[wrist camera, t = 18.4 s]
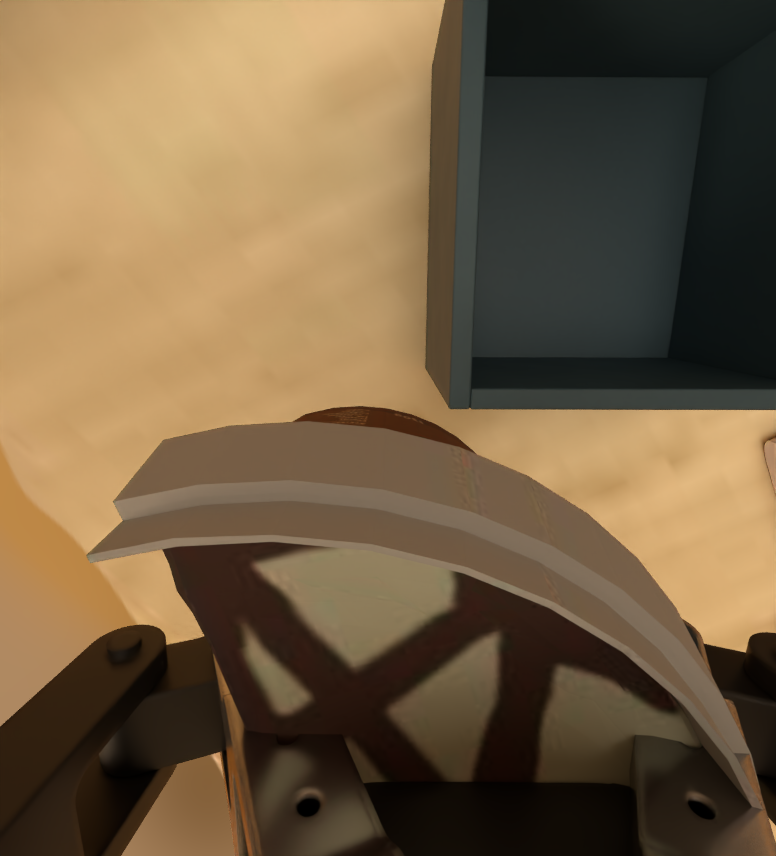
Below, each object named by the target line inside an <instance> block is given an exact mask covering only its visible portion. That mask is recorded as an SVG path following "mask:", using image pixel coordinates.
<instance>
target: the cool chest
mask: <svg viewBox="0 0 776 856" xmlns="http://www.w3.org/2000/svg"><path fill="white" fill-rule="evenodd" d="M425 368H426V370H427V371H428V373H429V375H430V377H431V378H432V380H433V382H434V383H435V385H436V387H437V388H438V390H439V392H440V393H441V395H442V397H443V398H444V400H445V402H446V404H447V405H448V407H449V408H450V409H469V408H471V409H593V410H776V0H445V4H444V9H443V14H442V19H441V24H440V29H439V34H438V39H437V44H436V49H435V54H434V60H433V64H432V92H431V137H430V183H429V228H428V274H427V319H426V365H425Z"/></svg>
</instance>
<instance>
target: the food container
mask: <svg viewBox="0 0 776 856" xmlns="http://www.w3.org/2000/svg"><path fill="white" fill-rule="evenodd" d="M113 503H114V505H115V507H116V508H117V510H118V512H119V514H120V516H121V518H122V520H123V521H122V522H121V523H120V524H119V525H118V526H117V527H116V528H115V529H114V530H113V531H112V532H111V533H109V534H108V535H107V536H106V537H105V538H104V539H103V540H102V541H101V542H100V543H99V544H98V545H97V546H96V547H95V548H94V549H92V550H91V551H90V552H89V553H88V554H87V555H86V556H87V558H88V560H89V562H90V563H93V562H98V561H104V560H109V559H114V558H119V557H125V556H130V555H135V554H140V553H146V552H151V551H156V550H161V549H162V550H163V552H164V554H165V556H166V558H167V560H168V563H169V565H170V568H171V571H172V575H173V578H174V582H175V585H176V589H177V591H178V593H179V594H180V596H181V597H182V599H183V600H184V601H185V603H186V604H187V606H188V607H189V608H190V610H191V611H192V613H193V614H194V616H195V618H196V620H197V622H198V624H199V626H200V628H201V630H202V632H203V634H204V636H205V637H206V639H207V641H208V643H209V645H210V647H211V649H212V652H213V654H214V656H215V659H216V661H217V663H218V666H219V668H220V670H221V673H222V675H223V677H224V680H225V682H226V684H227V687H228V689H229V691H230V694H231V696H232V698H233V701H234V703H235V705H236V708H237V710H238V712H239V715H240V717H241V719H242V722H243V724H244V726H245V728H246V729H247V731H255V732H260V733H276V734H278V743H279V744H281V745H290V744H292V743H294V742H295V741H296V739H297V737H298V734H342V735H343V738H344V740H345V742H346V745H347V747H348V749H349V751H350V754H351V756H352V758H353V761H354V763H355V765H356V767H357V770H358V772H359V774H360V777H361V779H362V781H363V783H370V782H542V783H604V784H612V783H615V784H621V785H625V786H629V787H630V779H629V770H630V763H631V756H632V749H633V743H634V737H635V735H648V736H656V737H661V738H666V739H670V740H675V741H680V742H683V743H684V744H685V745H687V746H688V747H691V748H695V749H699V748H701V747H702V745H703V746H704V748H705V749H706V750H707V751H708V753H709V754H710V755H711V756H712V758H713V759H714V760H715V761H716V763H717V764H718V765H719V766H720V767H721V769H722V770H723V771H724V772H725V774H726V775H727V776H728V777H729V779H730V780H731V781H732V782H733V784H734V785H735V786H736V787H737V789H738V790H739V791H740V792H741V794H742V795H743V796H744V797H745V798H746V800H747V801H748V802H749V803H750V805H751V806H752V807H755V808H759V809H762V807H761V805H760V803H759V801H758V799H757V797H756V795H755V793H754V791H753V789H752V787H751V785H750V783H749V781H748V779H747V777H746V775H745V773H744V771H743V769H742V767H741V765H740V764H739V762H738V760H737V758H736V756H735V755H734V753H746V754H750V758H751V761H752V765H753V768H754V771H755V767H754V763H753V759H752V756H751V753H750V751H749V749H748V747H747V745H746V743H745V741H744V739H743V737H742V735H741V733H740V731H739V729H738V727H737V725H736V723H735V721H734V719H733V717H732V715H731V713H730V711H729V709H728V707H727V705H726V703H725V700H724V698H723V696H722V695H721V693H720V691H719V689H718V687H717V685H716V683H715V681H714V679H713V677H712V676H711V674H710V672H709V670H708V668H707V666H706V664H705V662H704V660H703V658H702V657H701V655H700V653H699V651H698V649H697V647H696V645H695V643H694V641H693V639H692V638H691V636H690V634H689V632H688V630H687V628H686V626H685V624H684V622H683V620H682V619H681V617H680V615H679V613H678V611H677V609H676V607H675V606H674V605H673V603H672V602H671V601H670V599H669V598H668V597H667V596H666V594H665V593H664V592H663V590H662V589H661V588H660V587H659V585H658V584H657V583H656V581H655V580H654V579H653V578H652V576H651V575H650V574H649V572H648V571H647V570H646V569H645V567H644V566H643V565H642V563H641V562H640V561H639V559H638V558H637V557H636V556H634V555H633V554H632V553H631V552H630V551H629V550H628V549H627V548H626V547H624V546H623V545H622V544H621V543H620V542H619V541H618V540H617V539H616V538H614V537H613V536H612V535H611V534H610V533H609V532H608V531H607V530H605V529H604V528H603V527H602V526H601V525H600V524H599V523H598V522H597V521H595V520H594V519H593V518H592V517H591V516H590V515H589V514H588V513H586V512H584V511H583V510H581V509H580V508H578V507H576V506H575V505H573V504H572V503H570V502H568V501H567V500H565V499H564V498H562V497H560V496H559V495H557V494H556V493H554V492H553V491H551V490H549V489H548V488H546V487H545V486H543V485H541V484H540V483H538V482H537V481H535V480H533V479H532V478H530V477H529V476H527V475H524V474H522V473H520V472H517V471H515V470H512V469H510V468H508V467H505V466H503V465H501V464H498V463H496V462H494V461H491V460H489V459H486V458H484V457H482V456H479V455H477V454H476V453H475V452H474V451H473V450H471V449H470V448H469V447H468V446H467V445H466V444H464V443H463V442H462V441H461V440H460V439H459V438H457V437H456V436H454V435H453V434H451V433H449V432H448V431H446V430H444V429H443V428H441V427H439V426H438V425H436V424H434V423H431V422H429V421H426V420H424V419H421V418H419V417H417V416H414V415H412V414H407V413H403V412H399V411H395V410H391V409H386V408H375V407H363V406H356V407H340V408H331V409H326V410H322V411H317V412H313V413H308V414H305V415H303V416H301V417H300V418H298V419H296V420H295V421H293V422H286V423H269V424H251V425H234V426H226V427H222V428H217V429H212V430H208V431H203V432H198V433H193V434H189V435H184V436H179V437H174V438H170V439H165V440H163V441H162V442H161V443H160V445H159V446H158V447H157V448H156V450H155V451H154V452H153V453H152V454H151V456H150V457H149V458H148V459H147V461H146V462H145V463H144V464H143V465H142V467H141V468H140V469H139V470H138V472H137V473H136V474H135V475H134V477H133V478H132V479H131V480H130V481H129V483H128V484H127V485H126V486H125V488H124V489H123V490H122V491H121V492H120V494H119V495H118V496H117V497H116V499H115V500H114V501H113ZM755 775H756V771H755ZM756 778H757V775H756ZM757 782H758V779H757ZM758 785H759V783H758ZM759 788H760V787H759ZM760 792H761V791H760Z"/></svg>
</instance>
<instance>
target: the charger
mask: <svg viewBox="0 0 776 856" xmlns="http://www.w3.org/2000/svg"><path fill="white" fill-rule="evenodd" d="M764 451H765V458H766V462H767V466H768V469H769V473H770V477H771V480H772V484H773V487H774V491H775V494H776V438H774V439H771V440H769V441H767V442H766V443H765V447H764Z"/></svg>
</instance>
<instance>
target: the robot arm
mask: <svg viewBox="0 0 776 856" xmlns="http://www.w3.org/2000/svg"><path fill="white" fill-rule="evenodd" d="M682 620H683V619H682ZM683 622H684V624H685V626H686V628H687V630H688V632H689V634H690V636H691V638H692V639H693V641H694V643H695V645H696V647H697V649H698V651H699V653H700V655H701V657H702V658H703V660H704V662H705V664H706V666H707V668H708V670H709V672H710V674H711V676H712V677H713V679H714V681H715V683H716V685H717V687H718V689H719V691H720V693H721V695H722V696H723V698H724V700H725V703H726V705H727V707H728V709H729V711H730V713H731V715H732V717H733V719H734V721H735V723H736V725H737V727H738V729H739V731H740V733H741V735H742V737H743V739H744V741H745V743H746V745H747V747H748V749H749V751H750V753H751V756H752V759H753V763H754V767H755V771H756V775H757V778H756V775H755V771H754V768H753V765H752V761H751V758H750V754H746V753H734V755H735V756H736V758H737V760H738V762H739V764H740V765H741V767H742V769H743V771H744V773H745V775H746V777H747V779H748V781H749V783H750V785H751V787H752V789H753V791H754V793H755V795H756V797H757V799H758V801H759V803H760V805H761V807H762V809H759V808H755V807H752V806H751V805H750V803H749V802H748V801H747V800H746V798H745V797H744V796H743V795H742V794H741V792H740V791H739V790H738V789H737V787H736V786H735V785H734V784H733V782H732V781H731V780H730V779H729V777H728V776H727V775H726V774H725V772H724V771H723V770H722V769H721V767H720V766H719V765H718V764H717V763H716V761H715V760H714V759H713V758H712V756H711V755H710V754H709V753H708V751H707V750H706V749H705V748H704V746H703V745H702V747H701V748H699V749H695V748H691V747H688V746H687V745H685V744H684V743H683V742H680V741H675V740H670V739H666V738H661V737H656V736H648V735H635V737H634V743H633V749H632V756H631V763H630V770H629V779H630V787H629V786H625V785H621V784H615V783H612V784H604V783H542V782H370V783H363V781H362V779H361V777H360V774H359V772H358V770H357V767H356V765H355V763H354V761H353V758H352V756H351V754H350V751H349V749H348V747H347V745H346V742H345V740H344V738H343V735H342V734H298V737H297V739H296V741H295V742H294V743H292V744H290V745H281V744H279V743H278V734H276V733H260V732H255V731H247V729H246V728H245V726H244V724H243V722H242V719H241V717H240V715H239V712H238V710H237V708H236V705H235V703H234V701H233V698H232V696H231V694H230V691H229V689H228V687H227V684H226V682H225V680H224V677H223V675H222V673H221V670H220V668H219V666H218V663H217V661H216V659H215V656H214V654H213V652H212V649H211V647H210V645H209V643H208V641H207V639H206V637H205V636H204V637H201V638H197V639H193V640H189V641H184V642H179V643H174V644H169V645H166V638H165V634H164V632H163V631H162V630H160V629H159V628H157V627H154V626H150V625H133V626H127V627H123V628H120V629H117V630H114V631H112V632H109V633H107V634H105V635H103V636H102V637H100V638H99V639H97V640H96V641H94V642H93V643H92V644H91V645H90V646H89V647H88V648H87V649H85V650H84V651H83V652H82V653H81V654H80V655H79V656H78V657H77V658H75V659H74V660H73V661H72V662H71V663H70V664H69V665H68V666H67V667H66V668H64V669H63V670H62V671H61V672H60V673H59V674H58V675H57V676H56V677H54V678H53V679H52V680H51V681H50V682H49V683H48V684H47V685H46V686H45V687H44V688H42V689H41V690H40V691H39V692H38V693H37V694H36V695H35V696H34V697H33V698H32V699H30V700H29V701H28V702H27V703H26V704H25V705H24V706H23V707H21V708H20V709H19V710H18V711H17V712H16V713H15V714H14V715H13V716H11V717H10V718H9V719H8V720H7V721H6V722H5V723H4V724H3V725H2V726H0V856H121V855H122V853H123V851H124V850H125V848H126V847H127V845H128V844H129V842H130V840H131V839H132V837H133V836H134V834H135V832H136V831H137V829H138V828H139V826H140V825H141V823H142V821H143V820H144V818H145V817H146V815H147V813H148V812H149V810H150V809H151V807H152V805H153V804H154V802H155V800H156V799H157V798H158V796H159V794H160V793H161V791H162V790H163V788H164V786H165V785H166V783H167V782H168V780H169V778H170V777H171V775H172V774H173V772H174V770H175V768H176V765H177V764H178V763H182V762H185V761H189V760H193V759H196V758H200V757H203V756H207V755H211V754H214V753H218V752H220V756H221V762H222V769H223V775H224V782H225V788H226V795H227V801H228V808H229V815H230V821H231V828H232V835H233V843H234V851H235V856H776V842H775V839H774V836H773V832H772V829H771V825H770V822H769V819H768V817H769V818H770V819H771V821H772V822H773V823H774V824H775V825H776V633H768V632H765V633H757V634H754V635H752V636H751V637H750V639H749V642H748V646H747V650H746V653H745V652H740V651H735V650H730V649H726V648H721V647H716V646H711V645H707V644H704V643H703V639H702V637H701V635H700V633H699V632H698V631H697V630H696V629H695V628H694V627H693V626H692V625H691V624H689V623H688V622H686V621H685V620H683ZM757 779H758V782H757ZM758 783H759V785H758ZM759 787H760V788H759ZM760 791H761V792H760Z"/></svg>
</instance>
